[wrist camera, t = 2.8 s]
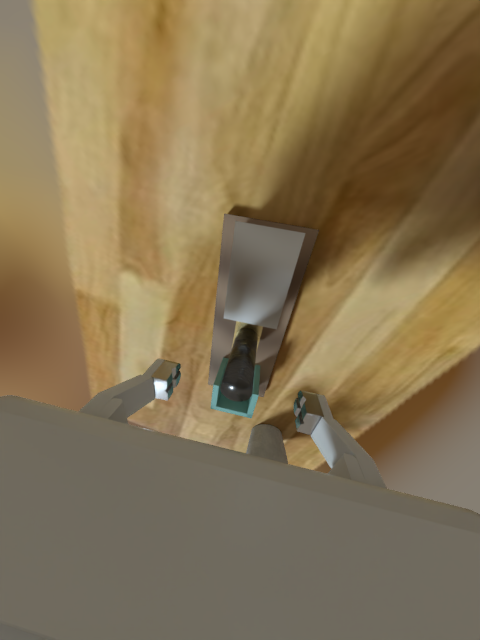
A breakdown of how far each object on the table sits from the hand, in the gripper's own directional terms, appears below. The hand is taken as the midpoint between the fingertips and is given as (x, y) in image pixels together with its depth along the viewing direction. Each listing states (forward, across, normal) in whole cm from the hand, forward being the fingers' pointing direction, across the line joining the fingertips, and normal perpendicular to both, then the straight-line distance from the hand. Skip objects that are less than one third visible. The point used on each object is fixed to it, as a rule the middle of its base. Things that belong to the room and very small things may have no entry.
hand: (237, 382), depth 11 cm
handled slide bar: (+7, 0, -4) cm, 8 cm away
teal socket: (+9, 0, +7) cm, 11 cm away
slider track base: (+9, 0, 0) cm, 9 cm away
